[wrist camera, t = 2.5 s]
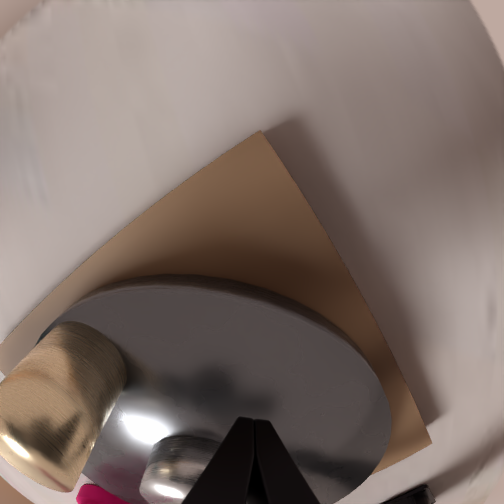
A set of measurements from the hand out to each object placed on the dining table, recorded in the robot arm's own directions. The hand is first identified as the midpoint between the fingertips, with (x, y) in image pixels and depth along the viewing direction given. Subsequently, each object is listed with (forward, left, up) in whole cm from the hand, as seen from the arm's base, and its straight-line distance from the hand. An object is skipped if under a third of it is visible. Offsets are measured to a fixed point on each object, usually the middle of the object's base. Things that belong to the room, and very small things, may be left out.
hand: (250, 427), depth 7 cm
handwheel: (-4, +6, -4) cm, 8 cm away
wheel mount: (-4, +6, -6) cm, 9 cm away
